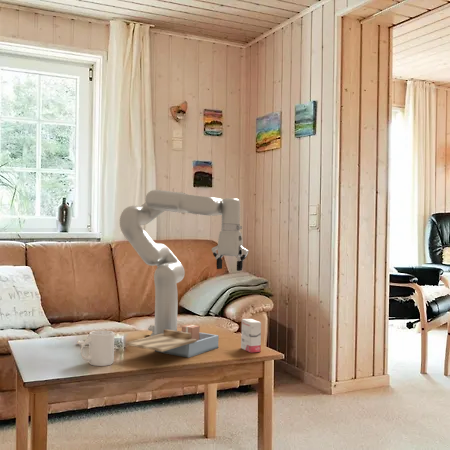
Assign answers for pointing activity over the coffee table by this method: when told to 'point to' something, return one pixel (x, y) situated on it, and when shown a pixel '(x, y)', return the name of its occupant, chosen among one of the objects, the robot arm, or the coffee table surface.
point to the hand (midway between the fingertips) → (229, 269)
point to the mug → (100, 348)
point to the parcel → (192, 330)
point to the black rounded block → (83, 342)
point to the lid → (164, 341)
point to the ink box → (251, 335)
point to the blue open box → (196, 346)
